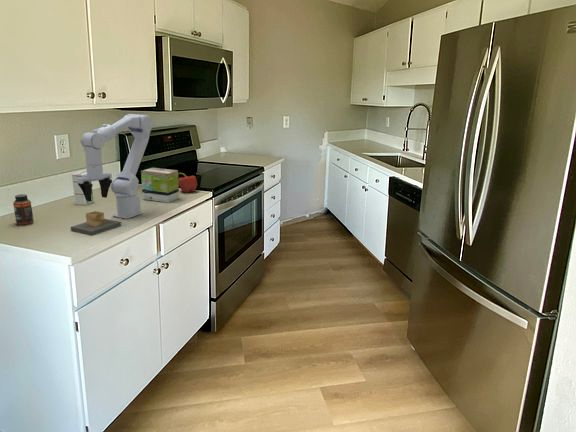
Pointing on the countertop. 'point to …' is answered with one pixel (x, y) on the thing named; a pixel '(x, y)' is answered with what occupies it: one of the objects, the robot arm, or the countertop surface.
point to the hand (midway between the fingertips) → (96, 199)
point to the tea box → (160, 184)
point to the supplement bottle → (23, 210)
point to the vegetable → (187, 183)
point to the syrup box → (78, 192)
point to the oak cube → (95, 218)
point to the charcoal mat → (95, 230)
